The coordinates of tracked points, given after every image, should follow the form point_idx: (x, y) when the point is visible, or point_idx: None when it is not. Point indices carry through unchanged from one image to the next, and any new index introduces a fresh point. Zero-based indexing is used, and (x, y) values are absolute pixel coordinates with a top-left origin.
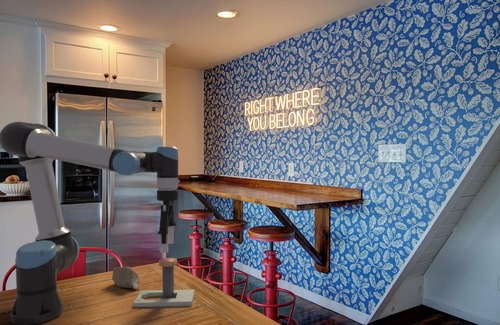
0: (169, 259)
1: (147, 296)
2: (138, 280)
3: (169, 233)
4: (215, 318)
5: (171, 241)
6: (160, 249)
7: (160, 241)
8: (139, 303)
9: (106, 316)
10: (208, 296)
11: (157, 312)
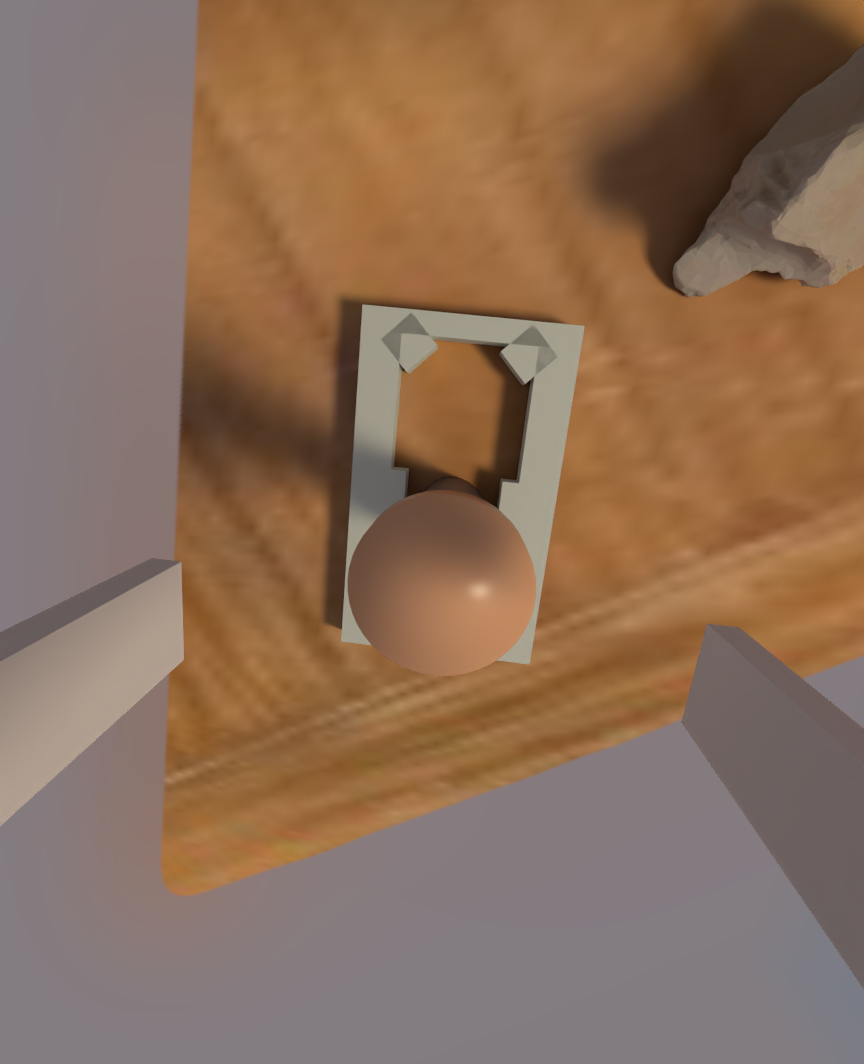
0: (467, 603)
1: (518, 378)
2: (798, 275)
3: (797, 786)
4: (187, 722)
5: (703, 717)
6: (119, 580)
7: (10, 633)
8: (360, 344)
9: (246, 158)
10: (464, 717)
11: (277, 458)
